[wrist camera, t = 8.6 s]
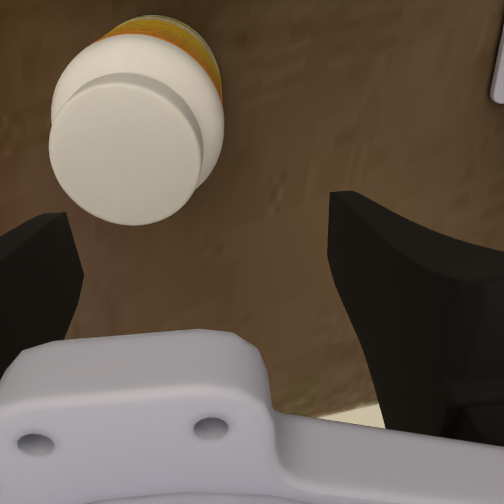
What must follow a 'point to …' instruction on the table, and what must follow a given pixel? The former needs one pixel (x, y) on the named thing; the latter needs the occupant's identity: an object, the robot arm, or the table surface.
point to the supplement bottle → (137, 121)
